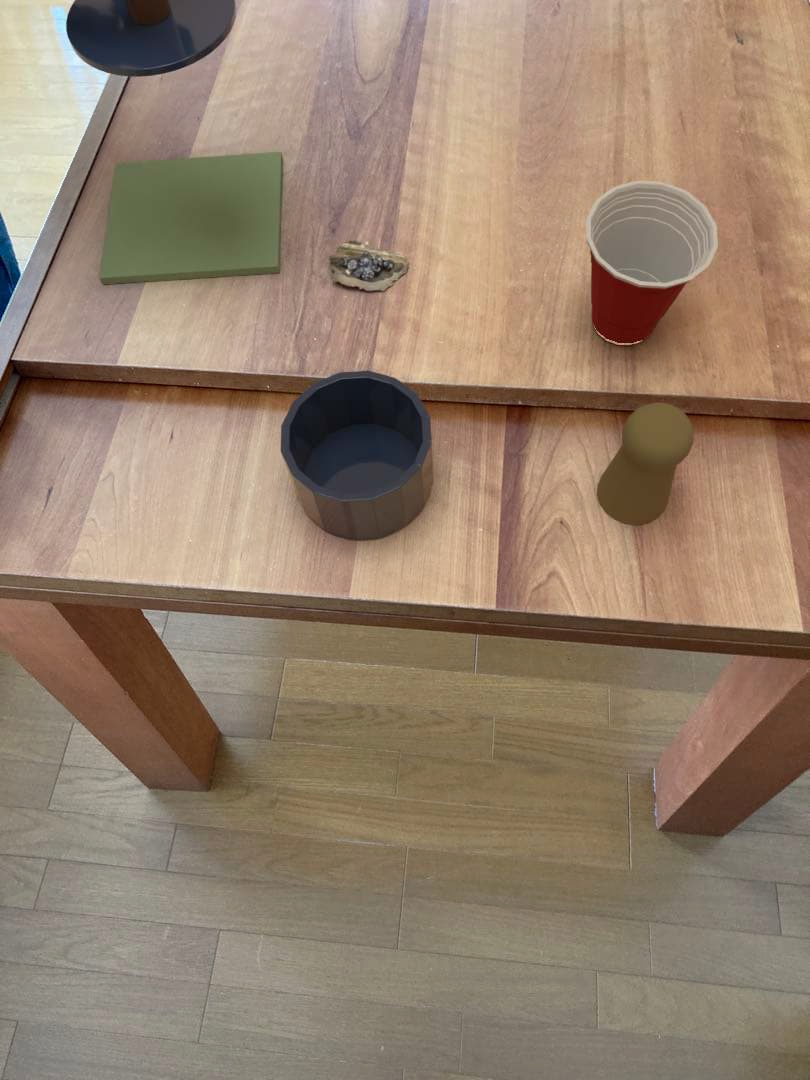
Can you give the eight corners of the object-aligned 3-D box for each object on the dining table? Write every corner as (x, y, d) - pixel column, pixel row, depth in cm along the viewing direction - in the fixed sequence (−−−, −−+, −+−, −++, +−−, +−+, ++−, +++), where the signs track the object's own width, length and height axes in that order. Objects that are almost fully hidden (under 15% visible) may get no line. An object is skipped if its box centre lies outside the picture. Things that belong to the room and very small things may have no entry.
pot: (295, 544, 70) (279, 504, 63) (297, 424, 75) (282, 375, 68) (436, 536, 69) (435, 495, 62) (428, 416, 74) (426, 366, 67)
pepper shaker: (649, 454, 72) (682, 380, 62) (680, 512, 69) (719, 445, 59) (585, 474, 71) (608, 403, 61) (614, 534, 69) (642, 469, 59)
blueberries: (326, 246, 83) (324, 232, 82) (404, 237, 83) (403, 222, 82) (332, 298, 80) (329, 285, 79) (413, 288, 80) (412, 274, 79)
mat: (102, 284, 83) (98, 277, 82) (118, 170, 89) (115, 162, 88) (279, 273, 82) (277, 266, 81) (283, 159, 89) (281, 151, 88)
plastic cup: (609, 389, 75) (637, 300, 64) (544, 308, 79) (559, 212, 68) (706, 339, 76) (749, 244, 65) (637, 263, 80) (667, 161, 70)
